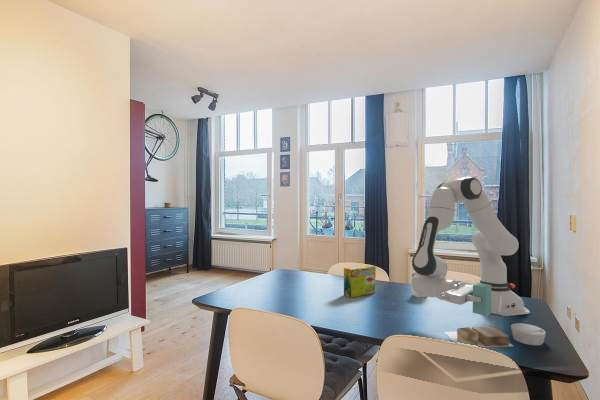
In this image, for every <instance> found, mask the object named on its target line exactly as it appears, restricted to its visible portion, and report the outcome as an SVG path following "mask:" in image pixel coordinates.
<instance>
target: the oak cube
mask: <svg viewBox="0 0 600 400" xmlns="http://www.w3.org/2000/svg"><path fill="white" fill-rule="evenodd" d="M456 332H457V342H460V343H464V344H470V345H476V346H478V332H476V331H474V330H473V329H472V328H471V327H469V326H467V327H457V328H456Z"/></svg>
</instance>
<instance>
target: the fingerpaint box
mask: <svg viewBox="0 0 600 400" xmlns="http://www.w3.org/2000/svg"><path fill="white" fill-rule="evenodd" d="M376 269H377V267H376V265H372V264H362V265H355V266H348V267H346V266H345V267H344V268H343V296H346V297H347V298H355V297H361V296H366V295H371V294H376V276H377V275H376Z"/></svg>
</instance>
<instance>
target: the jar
mask: <svg viewBox="0 0 600 400" xmlns="http://www.w3.org/2000/svg"><path fill="white" fill-rule="evenodd" d="M416 274H417V272H413V273H412V275H411V276H412V277H413V276H414V275H416ZM412 277H411V278H412ZM411 296H413V297H415V298H423V299H424V298H427V297H428V296H424V295H421V294H418V293H417V292H415V291H414V289H413V287H412V286H411Z"/></svg>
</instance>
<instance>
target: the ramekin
mask: <svg viewBox="0 0 600 400" xmlns="http://www.w3.org/2000/svg"><path fill="white" fill-rule="evenodd" d="M510 329H511V332H512V333H511V334H512V338H513V339H514V340H515V341H516V342H518V343H521V344H525V345H529V346H542V345H543V344H544V342H545V338H546V337H545V336H546V331H545V330H544V329H543V328H541V327H540V326H537V325H533V324H530V323H529V324H528V323H520V322H519V323H512V324H511V325H510Z"/></svg>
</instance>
